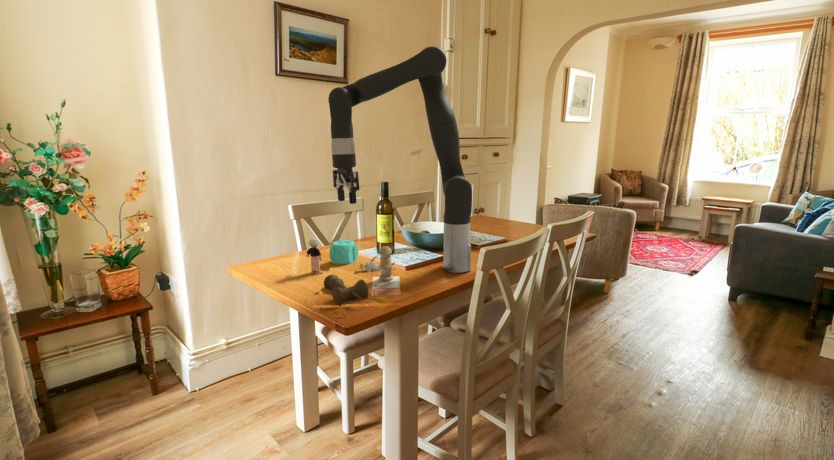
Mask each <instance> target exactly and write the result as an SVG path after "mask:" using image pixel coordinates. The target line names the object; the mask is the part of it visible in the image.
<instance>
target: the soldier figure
mask: <svg viewBox="0 0 834 460" xmlns="http://www.w3.org/2000/svg"><path fill="white" fill-rule="evenodd" d="M376 259H378V255H375V256H374V257H373V258H372V259H370V260H369V261H367V262H366V263H364V264H363V263H360V264H359V269H360V271H362V269H365V271H366V272H367V273H371V272H375V271H376V272H377V271H380V264H375V263H373V262H374V261H375V260H376ZM395 264H396V262H395V261H394V262H391V267H392V266H395ZM393 270H396V268H393Z"/></svg>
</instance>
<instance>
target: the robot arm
mask: <svg viewBox="0 0 834 460" xmlns="http://www.w3.org/2000/svg"><path fill="white" fill-rule="evenodd" d="M447 62H448V61H447V55H446V53H445V52H444V50H443V49H441V48H439V47H437V46H427V47H425V48H423V49H422V50H421V51H420V52H418V53H417V54H415V55H413V56H412V57H410V58H408V59H406V60H405V61H404V60H403V61H402V62H400V63H398V64H395V65H393V66H390V67H388V68H385V69H382V70H379V71H377V72H373V73H371V74H369V75H367V76H364V77H361V78H359V79H358V80H356V81H355V82H352V83H350V84H347V85H344V86H342V87H341V86H339V87H335V88H334V87H333V89H332V90H331V91H330V92H329V94H328V99H327V100H328V101H327V102H328V104H329V114H330V136H331V138H330V139H331V143H330V144H331V146H330V148H331V149H330V150H331V160H332V168H334V169H333V170H332V183H333V188H334V189H336V192H337V193H336V194H337V200H338V201H339V202H344V201H345V200H346V198H345V190H344V188H345V187H346V188H347V191H348V201H349V204H351V205H354V204H357V191H360V180H359V171H357V170H356V171H353V168H355V167H356V166H357V159H356V157H357V156H356V145H355V140H354V139H355V137H354V127H353V109H352V108H354V107H355V106H357V105H360V104H362V103H365V102H368V101H370V100H374V99H376V98H379V97H380V96H383V95H385V94H388V93H389V92H392V91H393V90H395V89H397V88H399V87H401V86H403V85H405V84H407V83H410V82H413V81H416V80H418V82H419V85H420V89H421V91H422V94H423V95H422V96H423V100H424V107H425V112H426V118H427V123H428V129H429V133H430V137H431V141H432V144H433V145H432V146H433V148H434V151H435V154H436V157H437V160H438V163H439V168H440V177H441V184H442V185H441V186H442V193H443V195H444V213H443V270H444V271H445V272H448V273H453V274H454V273H455V274H458V273H459V274H462V273H467V272H471V270H472V269H471V267H472V245H471V239H470V238H471V216H472V213H473V212H472V211H473V210H472V208H473V206H472V205H473V189H472V188H473V187H472V184H471V182H470V181H469V180H468V179H467V178H466V176H465V173H464V170H463V167H462V162H461V156H460V153H461V152H460V149H461V147H460V134H459V128H458V123H457V120H456V116H455V113H454V110H453V108H452V106H451V104H450V101H449V99H448V97H447V95H446V92H445V89H444V83H443V77H442V76H443V75H442V74H443V72H444V71H445V68H446V66H447Z"/></svg>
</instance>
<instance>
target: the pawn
mask: <svg viewBox="0 0 834 460" xmlns="http://www.w3.org/2000/svg"><path fill="white" fill-rule="evenodd" d="M392 252H393V251H392V249H391V248H390V246H388V245H383V246H381V248H380V249H379V252H378V253H379V256H380V257H379V265H380V270H379V273H380V274H379V276H378V277H379V279H380V280H381V281H391V280H393V276H394V275H393V274H392V265H391V263H392Z"/></svg>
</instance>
